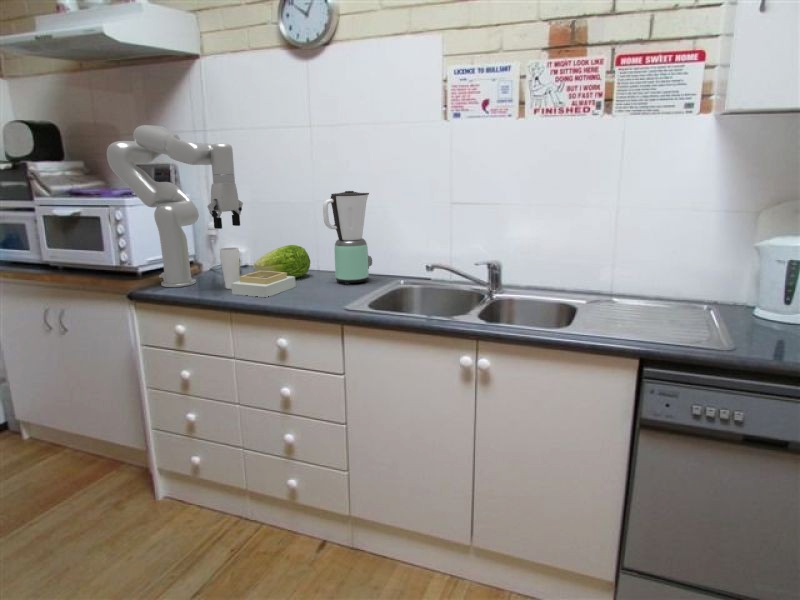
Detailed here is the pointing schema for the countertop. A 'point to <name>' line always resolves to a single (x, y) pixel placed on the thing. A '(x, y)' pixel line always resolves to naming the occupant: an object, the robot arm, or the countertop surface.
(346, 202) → the green blender
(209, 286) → the countertop surface
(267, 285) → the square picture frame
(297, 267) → the lettuce
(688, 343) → the countertop surface
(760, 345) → the countertop surface
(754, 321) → the countertop surface
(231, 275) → the drinking glass
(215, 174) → the robot arm
